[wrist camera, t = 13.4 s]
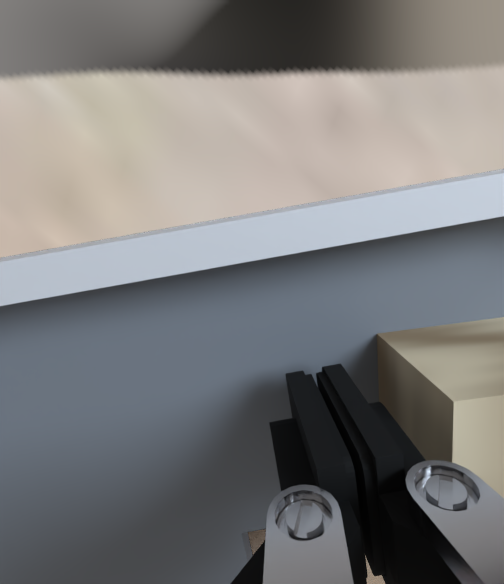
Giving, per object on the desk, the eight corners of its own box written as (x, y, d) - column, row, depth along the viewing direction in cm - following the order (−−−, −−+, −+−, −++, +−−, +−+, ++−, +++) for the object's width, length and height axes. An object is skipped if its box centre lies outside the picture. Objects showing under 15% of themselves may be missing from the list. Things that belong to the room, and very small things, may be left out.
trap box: (-10, 743, 17) (-82, 901, 13) (-250, 298, 11) (-495, 345, 7) (646, 615, 17) (765, 733, 13) (714, 128, 12) (945, 90, 8)
